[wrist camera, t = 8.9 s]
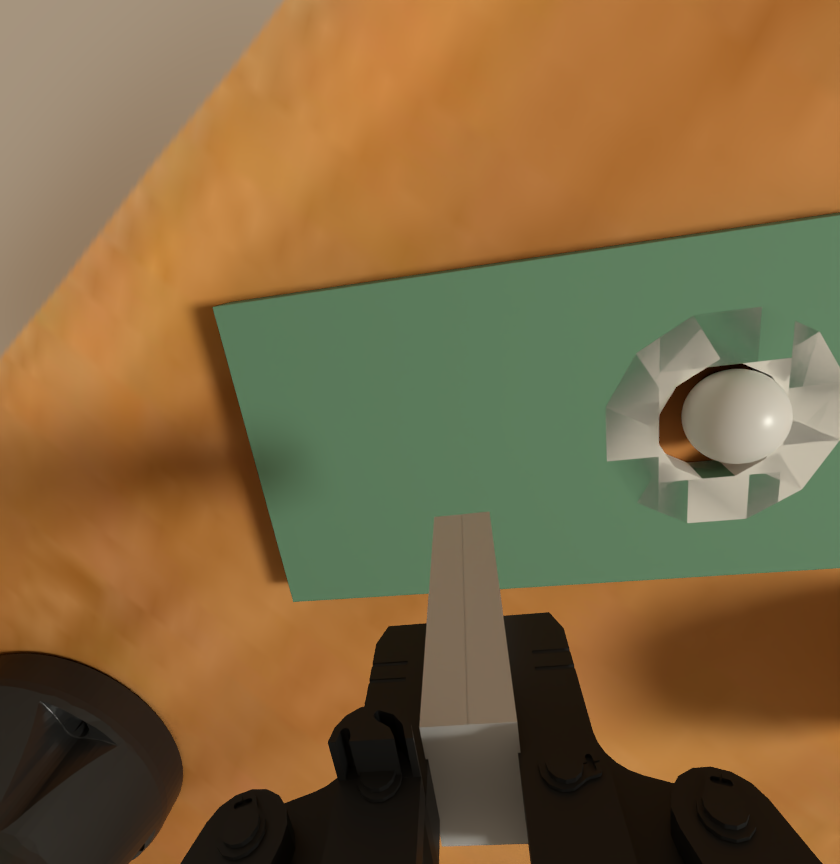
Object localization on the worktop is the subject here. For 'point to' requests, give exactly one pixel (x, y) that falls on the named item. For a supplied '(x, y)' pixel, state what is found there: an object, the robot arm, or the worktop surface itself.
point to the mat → (545, 413)
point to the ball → (737, 416)
